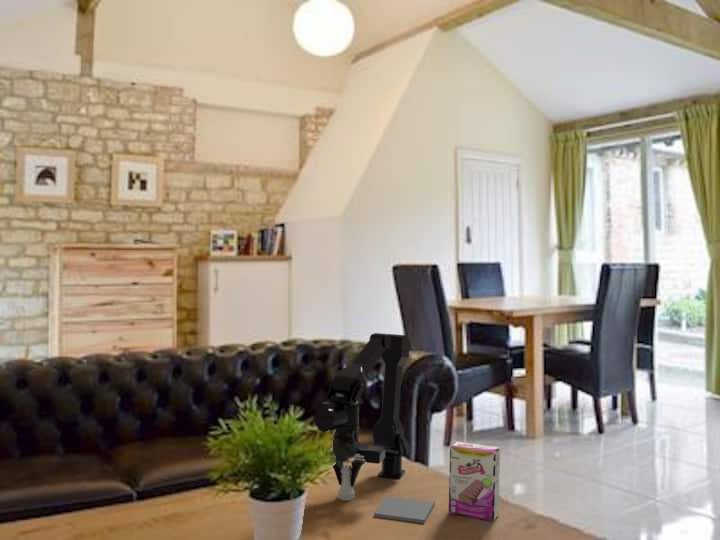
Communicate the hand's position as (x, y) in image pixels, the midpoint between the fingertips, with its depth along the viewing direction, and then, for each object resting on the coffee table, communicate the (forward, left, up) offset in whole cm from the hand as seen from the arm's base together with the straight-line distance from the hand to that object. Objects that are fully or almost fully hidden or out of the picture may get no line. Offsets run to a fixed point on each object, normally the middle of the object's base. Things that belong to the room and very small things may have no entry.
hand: (346, 485), depth 159 cm
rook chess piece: (0, 0, -3) cm, 3 cm away
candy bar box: (0, +32, -4) cm, 32 cm away
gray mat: (+3, +16, -3) cm, 17 cm away
